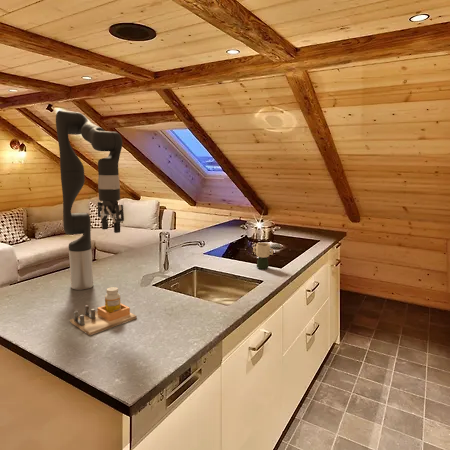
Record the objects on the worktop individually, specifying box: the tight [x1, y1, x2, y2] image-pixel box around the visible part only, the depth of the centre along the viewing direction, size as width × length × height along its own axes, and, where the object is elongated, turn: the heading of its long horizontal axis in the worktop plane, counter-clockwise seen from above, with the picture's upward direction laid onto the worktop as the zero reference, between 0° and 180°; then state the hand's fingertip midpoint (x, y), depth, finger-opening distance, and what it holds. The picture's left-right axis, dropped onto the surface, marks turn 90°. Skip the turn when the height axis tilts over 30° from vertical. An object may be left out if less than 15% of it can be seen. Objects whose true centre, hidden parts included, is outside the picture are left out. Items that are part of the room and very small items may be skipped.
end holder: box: [96, 303, 131, 321], centre depth 133 cm, size 8×8×2 cm
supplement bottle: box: [104, 286, 122, 313], centre depth 133 cm, size 5×5×10 cm
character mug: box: [252, 242, 274, 270], centre depth 193 cm, size 11×7×13 cm, turn 64°
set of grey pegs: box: [73, 304, 96, 326], centre depth 128 cm, size 7×6×4 cm
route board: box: [69, 310, 138, 336], centre depth 130 cm, size 14×18×1 cm
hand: (111, 230), depth 137 cm, fingers open, 8 cm apart
